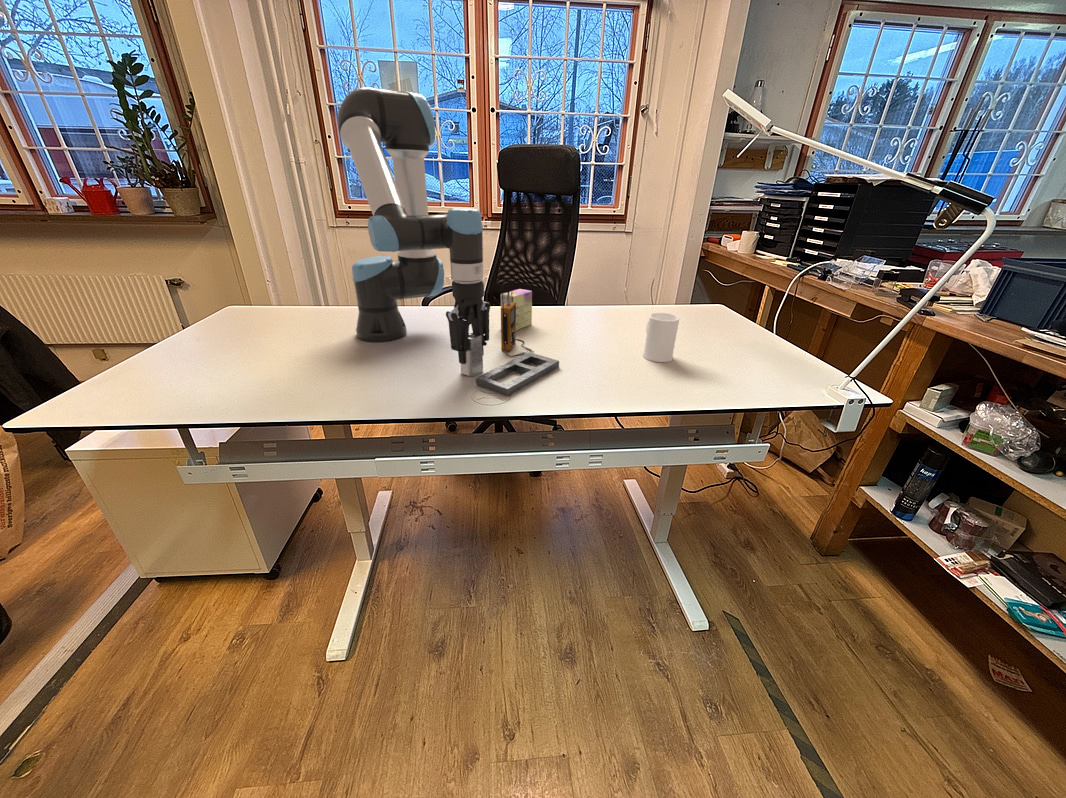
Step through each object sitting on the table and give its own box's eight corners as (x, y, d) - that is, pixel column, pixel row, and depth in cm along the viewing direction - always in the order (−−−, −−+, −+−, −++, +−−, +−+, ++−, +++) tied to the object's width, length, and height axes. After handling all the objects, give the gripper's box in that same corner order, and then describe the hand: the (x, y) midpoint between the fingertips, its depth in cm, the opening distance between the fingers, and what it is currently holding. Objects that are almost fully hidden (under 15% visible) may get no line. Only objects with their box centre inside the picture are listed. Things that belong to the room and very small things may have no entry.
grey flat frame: (476, 385, 103) (475, 377, 102) (529, 358, 119) (529, 352, 118) (507, 396, 98) (507, 389, 97) (558, 367, 114) (559, 360, 113)
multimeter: (531, 359, 119) (533, 287, 110) (497, 355, 121) (496, 285, 112) (541, 341, 132) (543, 276, 123) (510, 339, 134) (510, 274, 124)
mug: (633, 348, 129) (638, 309, 123) (659, 347, 130) (665, 308, 125) (650, 363, 118) (657, 321, 113) (678, 361, 120) (686, 320, 114)
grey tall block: (461, 372, 110) (458, 334, 105) (471, 367, 113) (469, 330, 108) (472, 376, 108) (470, 337, 103) (482, 371, 110) (481, 333, 106)
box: (519, 321, 150) (519, 288, 145) (531, 324, 148) (532, 290, 142) (500, 328, 143) (499, 293, 137) (513, 332, 140) (513, 296, 134)
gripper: (452, 289, 91) (459, 386, 102) (503, 276, 103) (504, 364, 114) (429, 283, 95) (437, 378, 106) (480, 272, 107) (483, 358, 118)
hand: (472, 371), depth 110 cm, fingers closed on grey tall block, 4 cm apart
